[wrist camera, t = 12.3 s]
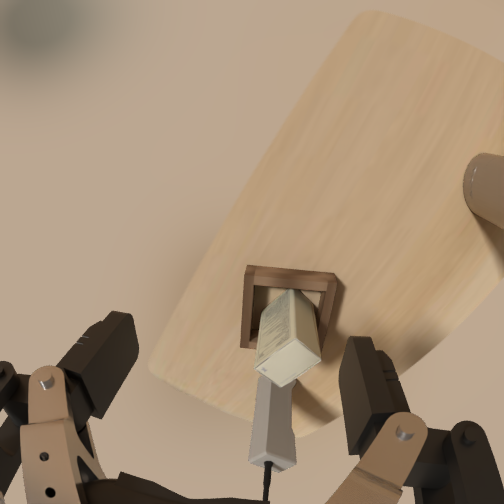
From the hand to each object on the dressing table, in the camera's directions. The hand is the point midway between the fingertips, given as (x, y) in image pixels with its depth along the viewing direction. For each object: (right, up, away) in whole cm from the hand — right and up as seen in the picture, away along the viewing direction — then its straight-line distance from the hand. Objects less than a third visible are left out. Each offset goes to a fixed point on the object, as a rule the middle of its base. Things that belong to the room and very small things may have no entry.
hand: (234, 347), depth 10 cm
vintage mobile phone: (+5, -17, +36) cm, 40 cm away
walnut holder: (+5, -4, +30) cm, 31 cm away
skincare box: (+6, -4, +31) cm, 31 cm away
